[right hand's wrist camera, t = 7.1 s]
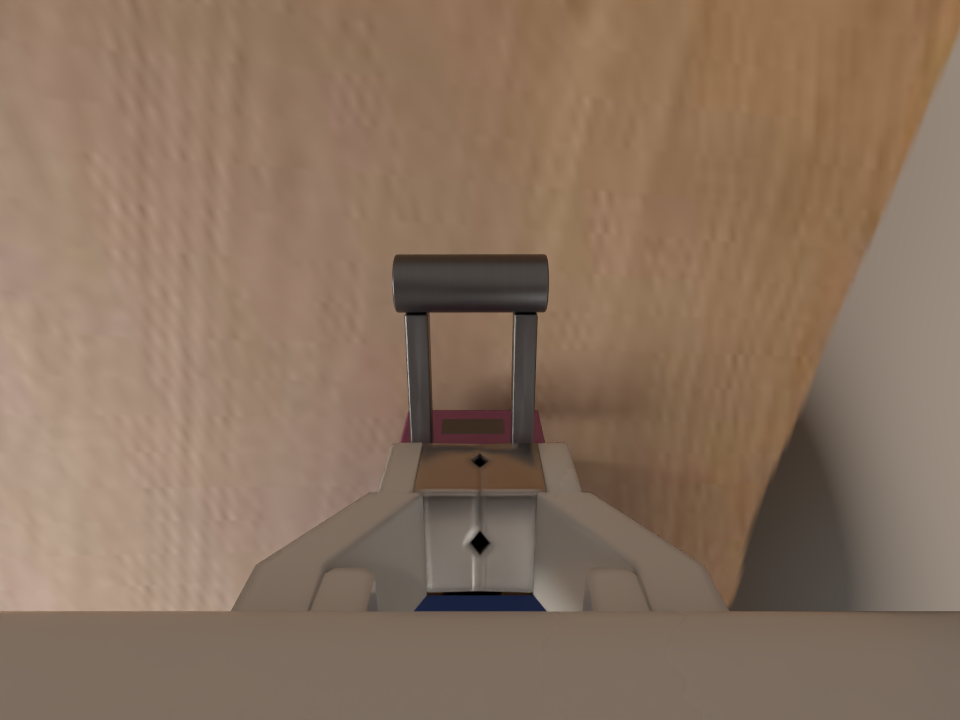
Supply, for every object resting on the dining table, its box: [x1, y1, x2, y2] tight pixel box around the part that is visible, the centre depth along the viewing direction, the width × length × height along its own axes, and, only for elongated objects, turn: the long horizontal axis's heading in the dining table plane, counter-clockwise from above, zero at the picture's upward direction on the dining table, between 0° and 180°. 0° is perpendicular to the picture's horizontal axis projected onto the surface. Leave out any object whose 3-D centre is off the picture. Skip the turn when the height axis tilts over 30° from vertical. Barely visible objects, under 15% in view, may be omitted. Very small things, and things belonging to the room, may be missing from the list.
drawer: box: [392, 254, 549, 595], centre depth 19 cm, size 24×4×6 cm, turn 0°
